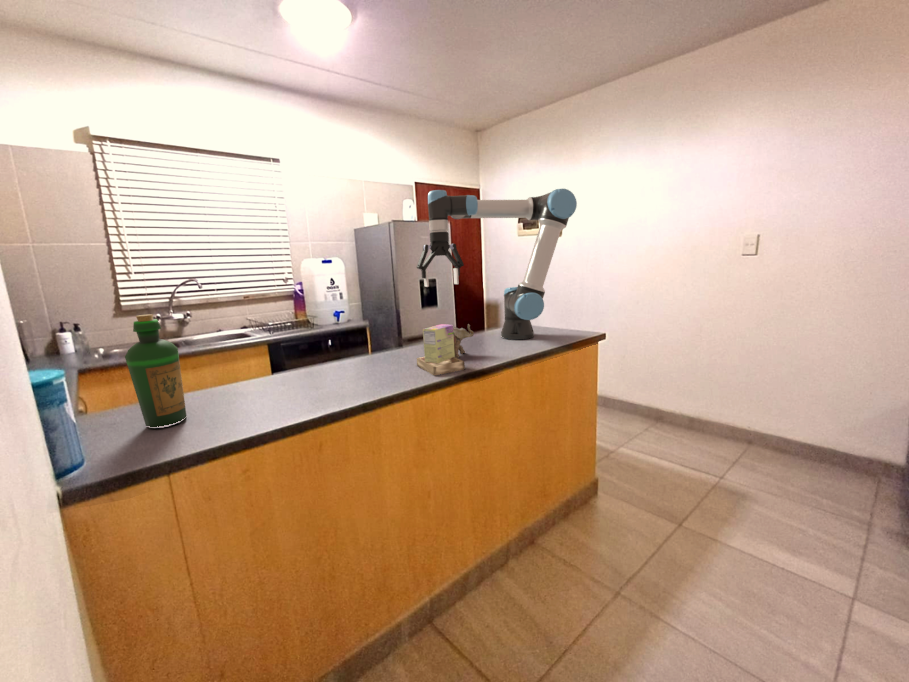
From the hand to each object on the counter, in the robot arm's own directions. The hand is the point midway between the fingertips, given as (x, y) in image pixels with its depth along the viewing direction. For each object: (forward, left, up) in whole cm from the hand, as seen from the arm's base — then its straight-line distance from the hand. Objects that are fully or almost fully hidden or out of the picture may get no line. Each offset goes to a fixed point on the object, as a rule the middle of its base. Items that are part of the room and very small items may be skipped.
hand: (441, 285), depth 163 cm
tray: (+14, +25, -27) cm, 39 cm away
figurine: (+3, +13, -27) cm, 30 cm away
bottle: (+94, +28, -27) cm, 102 cm away
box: (+14, +25, -24) cm, 38 cm away
